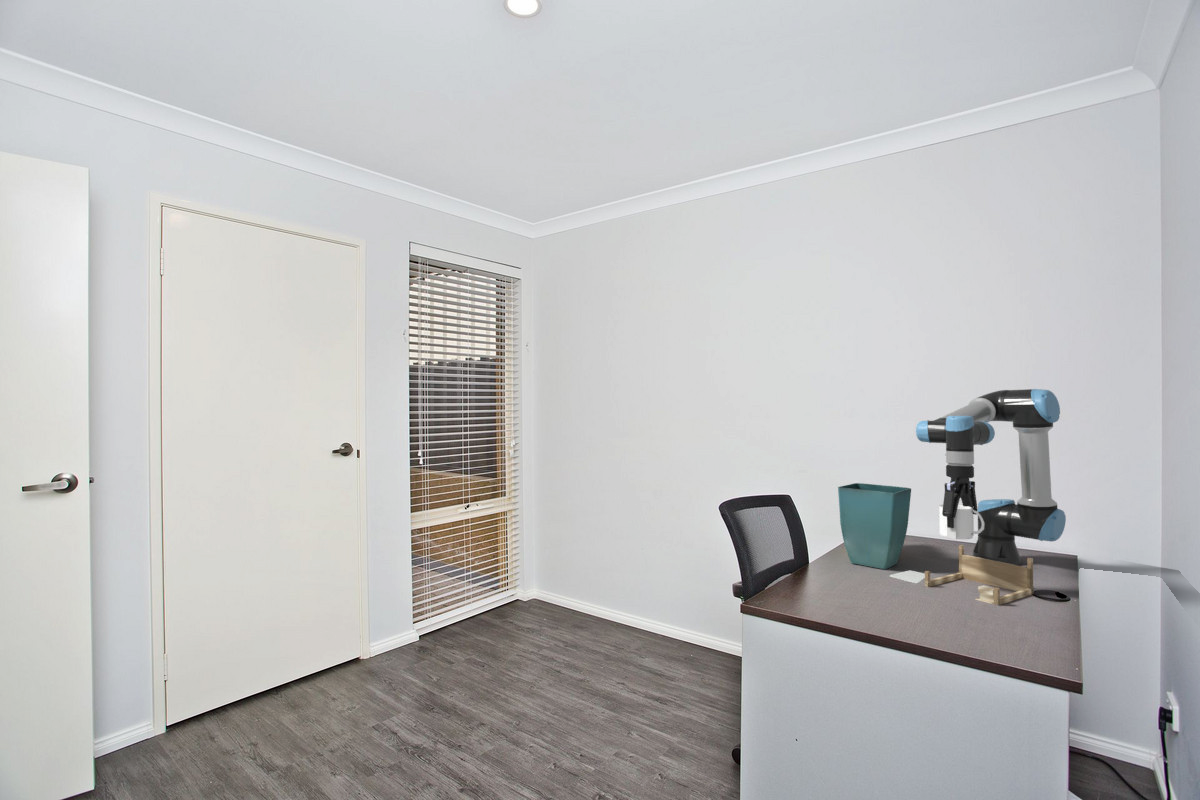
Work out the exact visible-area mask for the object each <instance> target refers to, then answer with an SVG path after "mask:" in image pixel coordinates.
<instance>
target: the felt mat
mask: <svg viewBox="0 0 1200 800" xmlns="http://www.w3.org/2000/svg"><path fill="white" fill-rule="evenodd" d="M889 577H890V578H893V579H898V580H901V581H904V582H909V583H913V584H918V583H920V582H921V581H922V580H923V579H924V580H925V572H919V571H915V570H911V569H909V570H905V571H900V572H896V573H892V574H890V575H889Z"/></svg>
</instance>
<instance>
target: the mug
mask: <svg viewBox="0 0 1200 800" xmlns="http://www.w3.org/2000/svg"><path fill="white" fill-rule="evenodd" d="M938 509H939V510H938V511H939V512H938V514H939V516H938V517H939V519H938V521H939V525H938V526H939V529H938V530H939V531H938V532H939V535H940V536H941V537H944V538H946V539H948V538H947V517H945V516H943V514H942V511H943V504H939V506H938ZM973 512H974V513H976V514H977V517H978V516H979V518H980V520H981V523H982V526H981V529H979V530H978V529H977V531H976V530H974V531H973V522H974V514H973ZM955 517H956V518H957V539H956V540H971V539H973V537H974V535H978V534H979V533H981V531H982V530H984V521H983V518H982V517H981V515H980V514H979V513H978V512H977V511H975V510H973V508H972V507H969V506H963V504H962V505H961V504H958V508H957V512H956V516H955ZM973 534H974V535H973Z"/></svg>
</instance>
